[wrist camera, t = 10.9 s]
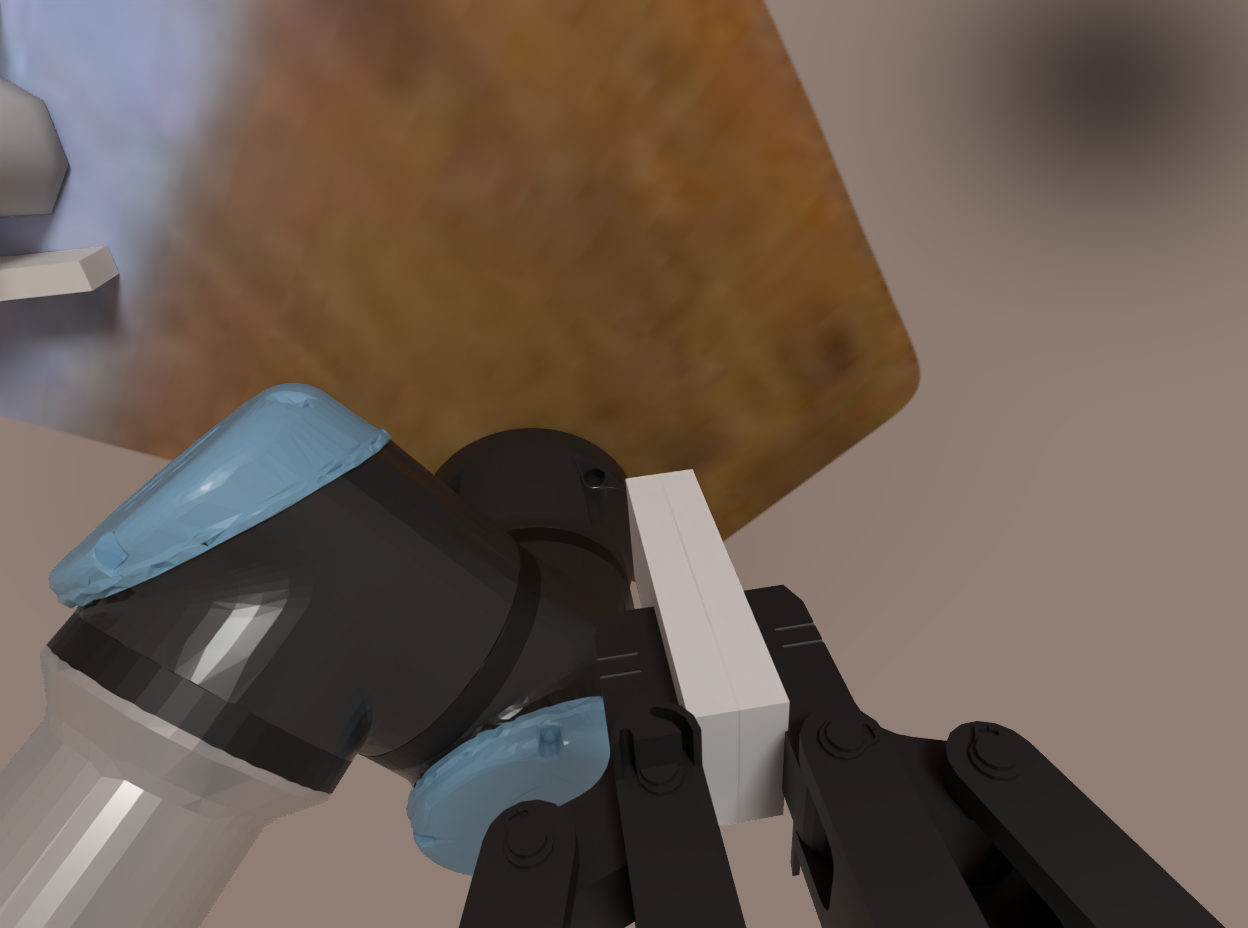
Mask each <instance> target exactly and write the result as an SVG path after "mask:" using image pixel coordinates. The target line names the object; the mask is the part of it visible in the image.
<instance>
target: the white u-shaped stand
mask: <svg viewBox="0 0 1248 928" xmlns="http://www.w3.org/2000/svg"><path fill="white" fill-rule="evenodd" d="M118 274H119V272H118V270H117V268H116V266H115V263H114V261H113V259H112V256H111V254H110V252H109V250H108V247H107V246H99V247H90V248H81V249H71V250H62V251H53V252H43V253H34V254H25V255H15V256H6V257H0V301H5V300H14V299H23V298H32V297H41V296H50V295H59V294H68V293H77V292H86V291H93V290H95V289H96V288H98V287H99V286H101V285H102V284H104V283H105V282H107V281H108V280H110V279H111V278H113V277H115V276H116V275H118Z"/></svg>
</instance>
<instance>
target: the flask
mask: <svg viewBox="0 0 1248 928" xmlns="http://www.w3.org/2000/svg"><path fill="white" fill-rule="evenodd" d="M68 165H69V164H68V162H67V159H66V157H65V154H64V152H63V149H62V146H61V144H60V141H59V139H58V136H57V134H56V131H55V129H54V126H53V123H52V121H51V118H50V116H49V113H48V111H47V108H46V106H45V103H44V101H43V100H41V99H40V98H38V97H36V96H34V95H33V94H31V93H29V92H27V91H26V90H24V89H22V88H20V87H18V86H17V85H15V84H13V83H11V82H10V81H8V80H6V79H4V78H3V77H1V76H0V217H3V216H21V215H39V214H51V213H52V211H53V208H54V205H55V202H56V199H57V196H58V193H59V190H60V188H61V185H62V182H63V179H64V176H65V173H66V170H67V167H68Z"/></svg>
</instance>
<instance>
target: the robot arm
mask: <svg viewBox="0 0 1248 928" xmlns="http://www.w3.org/2000/svg"><path fill="white" fill-rule="evenodd" d="M391 437H392V436H391V435H390V434H389V433H388V432H386V431H385V430H384V429H377V428H374V427H373V426H372V425H370V424H369V423H367V422H366V421H365V420H363V419H362V418H360V417H359V416H357V415H356V414H355V413H353V412H352V411H350V410H349V409H348V408H346V407H345V406H343V405H342V404H340V403H339V402H338V401H336V400H335V399H333V398H332V397H331V396H329V395H328V394H326V393H325V392H324V391H322V390H320V389H318V388H315V387H313V386H310V385H306V384H301V383H286V384H280V385H277V386H274V387H271V388H268V389H266V390H264V391H263V392H261V393H259V394H258V395H256V396H254V397H253V398H252V399H250V400H249V401H247V402H246V403H245V404H243V405H242V406H241V407H239V408H238V409H237V410H235V411H234V412H233V413H231V414H230V415H229V416H227V417H226V418H225V419H223V420H222V421H221V422H220V423H218V424H217V425H216V426H214V427H213V428H212V429H211V430H209V431H208V432H207V433H206V434H204V435H203V436H202V437H201V438H200V439H198V440H197V441H196V442H195V443H193V444H192V445H191V446H190V447H189V448H187V449H186V450H185V451H184V452H183V453H181V454H180V455H179V456H178V457H176V458H175V459H174V460H173V461H172V462H170V463H169V464H168V465H167V466H166V467H165V468H163V469H162V470H161V471H160V472H159V473H158V474H156V475H155V476H154V477H153V478H152V479H150V480H149V481H148V482H147V483H146V484H144V485H143V486H142V487H141V488H140V489H139V490H138V491H137V492H135V493H134V494H133V495H132V496H131V497H130V498H129V499H127V500H126V501H125V502H124V503H123V504H122V505H121V506H119V507H118V508H117V509H116V510H115V511H114V512H112V513H111V514H110V515H109V516H108V517H107V518H106V519H105V520H104V521H103V522H102V523H101V524H100V525H99V526H97V527H96V529H95V530H94V531H93V532H92V533H91V534H90V535H88V536H87V537H86V538H85V540H84V541H83V542H81V543H80V544H79V545H78V546H77V547H75V548H74V549H73V550H71V551H70V552H69V553H68V554H67V555H66V556H65V557H64V558H63V559H62V560H61V561H60V563H58V564H57V566H56V567H55V568H54V569H53V570H52V572H51V574H50V576H49V585H50V588H51V589H52V590H53V591H54V592H55V593H56V594H57V597H58V601H59V603H61V604H63V605H65V606H67V607H69V608H73V607H75V606H76V605H77V606H78V607H77V609H76V611H75V612H74V613H73V615H72V616H71V617H70V618H69V619H68V620H67V622H66V623H65V624H64V625H63V626H62V627H61V629H60V630H59V631H58V632H57V633H56V634H55V636H54V637H53V638H52V639H51V640H50V641H49V643H48V644H47V645H46V646H45V647H44V649H43V650H42V651H41V653H40V657H41V664H42V670H43V678H44V684H45V692H46V699H47V707H46V712H45V717H44V721H43V722H42V723H41V724H40V725H39V727H38V728H37V729H36V730H35V732H34V733H33V734H32V735H31V736H30V738H29V739H28V740H27V741H26V743H25V744H24V745H23V746H22V747H21V748H20V750H19V751H18V752H17V754H16V755H15V756H14V757H13V758H12V759H11V761H10V762H9V763H8V764H7V765H6V767H5V768H4V769H3V770H2V772H1V773H0V928H199V927H200V925H201V924H202V922H203V921H204V919H205V917H206V916H207V914H208V913H209V911H210V910H211V908H212V907H213V905H214V904H215V902H216V901H217V899H218V897H219V896H220V894H221V893H222V891H223V890H224V888H225V887H226V885H227V884H228V882H229V880H230V879H231V877H232V876H233V874H234V873H235V871H236V870H237V868H238V866H239V865H240V863H241V862H242V860H243V859H244V857H245V856H246V854H247V853H248V851H249V849H250V848H251V846H252V845H253V843H254V842H255V840H256V839H257V837H258V836H259V834H260V832H261V831H262V829H263V828H264V827H266V826H267V825H269V824H270V823H272V822H273V821H275V820H277V819H278V818H281V817H283V816H286V815H289V814H292V813H295V812H298V811H301V810H303V809H306V808H309V807H312V806H315V805H318V804H320V803H323V802H325V801H327V800H328V799H329V797H330V796H331V794H332V793H333V791H334V789H335V788H336V786H337V785H338V783H339V781H340V780H341V778H342V777H343V775H344V773H345V772H346V770H347V768H348V767H349V765H350V764H351V762H352V760H353V759H354V758H355V756H356V755H357V753H359V754H360V755H362V756H365V757H367V758H368V759H370V760H372V761H374V762H376V763H378V764H380V765H382V766H383V767H385V768H387V769H389V770H391V771H393V772H394V773H396V774H398V775H400V776H402V777H404V778H405V779H407V780H408V781H409V782H410V783H411V785H412V787H413V789H412V791H411V792H410V795H409V799H408V805H407V816H408V818H409V819H410V821H411V826H412V828H413V835H414V840H415V843H416V844H417V846H418V847H419V849H420V850H421V852H422V853H423V854H424V855H425V856H427V857H428V858H430V859H431V860H432V861H433V862H435V863H436V864H438V865H440V866H442V867H444V868H447V869H449V870H452V871H454V872H458V873H462V874H467V875H471V876H473V877H472V881H471V885H470V889H469V892H468V896H467V900H466V903H465V907H464V911H463V914H462V918H461V922H460V926H459V928H625V927H626V926H628V925H630V924H631V923H633V922H635V927H636V928H746V925H745V921H744V918H743V914H742V910H741V907H740V903H739V899H738V895H737V892H736V888H735V884H734V881H733V877H732V873H731V869H730V866H729V862H728V858H727V855H726V851H725V847H724V843H723V839H722V836H721V832H720V828H719V826H722V825H728V824H733V823H739V822H745V821H750V820H756V819H761V818H767V817H773V816H778V815H783V806H784V797H785V800H786V802H787V805H788V808H789V811H790V813H791V816H792V819H793V837H792V851H791V867H792V875H793V876H795V875H799V871H800V866H801V868H802V871H803V874H804V877H805V880H806V883H807V886H808V889H809V892H810V894H811V897H812V900H813V903H814V906H815V909H816V912H817V915H818V918H819V920H820V923H821V926H822V928H1225V927H1224V926H1223V925H1222V924H1221V923H1220V922H1219V921H1218V920H1217V919H1216V918H1215V917H1214V916H1213V915H1211V914H1210V913H1209V912H1208V911H1207V910H1206V909H1205V908H1204V907H1203V906H1202V905H1201V904H1200V903H1199V902H1198V901H1197V900H1196V899H1195V898H1194V897H1192V896H1191V895H1190V894H1189V893H1188V892H1187V891H1186V890H1185V889H1184V888H1183V887H1182V886H1181V885H1180V884H1179V883H1178V882H1177V881H1176V880H1175V879H1173V878H1172V877H1171V876H1170V875H1169V874H1168V873H1167V872H1166V871H1165V870H1164V869H1163V868H1162V867H1161V866H1160V865H1159V864H1158V863H1157V862H1155V861H1154V860H1153V859H1152V858H1151V857H1150V856H1149V855H1148V854H1147V853H1146V852H1145V851H1144V850H1143V849H1142V848H1141V847H1140V846H1139V845H1138V844H1137V843H1136V842H1134V841H1133V840H1132V839H1131V838H1130V837H1129V836H1128V835H1127V834H1126V833H1125V832H1124V831H1123V830H1122V829H1121V828H1120V827H1119V826H1118V825H1117V824H1115V823H1114V822H1113V821H1112V820H1111V819H1110V818H1109V817H1108V816H1107V815H1106V814H1105V813H1104V812H1103V811H1102V810H1101V809H1100V808H1099V807H1098V806H1096V805H1095V804H1094V803H1093V802H1092V801H1091V800H1090V799H1089V798H1088V797H1087V796H1086V795H1085V794H1084V793H1083V792H1082V791H1081V790H1079V789H1078V788H1077V787H1076V786H1075V785H1074V784H1073V783H1072V782H1071V781H1070V780H1069V779H1068V778H1067V777H1066V776H1065V775H1064V774H1063V773H1062V772H1061V771H1060V770H1059V769H1057V768H1056V767H1055V766H1054V765H1053V764H1052V763H1051V762H1050V761H1049V760H1048V759H1047V758H1046V757H1045V756H1044V755H1043V754H1042V753H1040V752H1039V751H1038V750H1037V749H1036V748H1035V747H1034V746H1033V745H1032V744H1031V743H1030V742H1029V741H1027V740H1026V739H1025V738H1023V737H1022V736H1020V735H1019V734H1017V733H1016V732H1015V731H1013V730H1011V729H1008V728H1006V727H1003V726H1001V725H998V724H996V723H989V722H981V721H975V722H970V723H965V724H961V725H960V726H958V727H957V728H956V729H954V730H953V731H952V732H950V734H949V737H948V740H947V741H943V740H934V739H926V738H917V737H910V736H905V735H900V734H896V733H893V732H891V731H888V730H886V729H883V728H882V727H880V725H879V724H878V723H877V722H876V721H875V720H874V719H872V718H871V717H869V716H868V715H866V714H865V713H863V712H862V711H860V709H859V708H858V706H857V705H856V703H855V702H854V700H853V698H852V696H851V694H850V692H849V690H848V688H847V686H846V684H845V682H844V680H843V678H842V676H841V674H840V673H839V671H838V669H837V667H836V665H835V663H834V661H833V659H832V657H831V655H830V653H829V651H828V649H827V647H826V645H825V643H824V642H822V638H821V636H820V634H819V632H818V630H817V628H816V626H814V624H813V620H812V618H811V616H810V614H809V612H808V610H807V608H806V606H805V604H804V602H803V601H802V600H801V599H800V598H799V597H797V596H796V595H795V594H794V593H792V592H791V591H790V590H789V589H788V588H786V587H785V586H784V585H778V586H771V587H765V588H759V589H752V590H745V591H743V589H742V587H741V584H740V582H739V580H738V577H737V575H736V573H735V570H734V568H733V565H732V563H731V561H730V558H729V556H728V554H727V551H726V549H725V546H724V544H723V541H722V539H721V537H720V534H719V532H718V529H717V527H716V525H715V522H714V520H713V518H712V515H711V513H710V510H709V508H708V506H707V503H706V501H705V498H704V496H703V494H702V491H701V489H700V486H699V484H698V482H697V479H696V477H695V475H694V472H693V470H692V469H691V470H684V471H677V472H670V473H663V474H656V475H649V476H641V477H634V478H628V477H627V476H626V474H625V473H624V471H623V470H622V468H621V467H620V466H619V465H618V464H617V462H616V461H615V460H614V459H613V458H612V457H610V456H609V455H608V454H607V453H606V452H604V451H603V450H602V449H600V448H599V447H597V446H596V445H594V444H592V443H591V442H589V441H587V440H584V439H582V438H580V437H577V436H575V435H572V434H568V433H565V432H561V431H556V430H550V429H538V428H526V429H514V430H508V431H503V432H499V433H495V434H492V435H489V436H486V437H484V438H481V439H479V440H477V441H475V442H473V443H471V444H469V445H467V446H465V447H464V448H462V449H461V450H459V451H458V452H457V453H455V454H454V455H453V456H452V457H450V458H449V459H448V460H447V461H446V462H445V463H444V464H443V465H442V466H441V467H440V469H439V470H438V471H437V472H436V474H435V475H433V474H432V473H431V472H430V471H428V470H427V469H426V468H425V467H423V466H422V465H421V464H419V463H418V462H417V461H416V460H415V459H413V458H412V457H411V456H410V455H409V454H407V453H406V452H405V451H404V450H403V449H401V448H400V447H399V446H398V445H396V444H395V443H394V442H393V441H392V440H390V439H391ZM633 573H634V576H635V580H636V584H637V589H638V593H639V597H640V601H641V606H642V608H640V609H635V608H634V604H633V600H632V595H631V591H630V584H631V580H632V577H633Z"/></svg>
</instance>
